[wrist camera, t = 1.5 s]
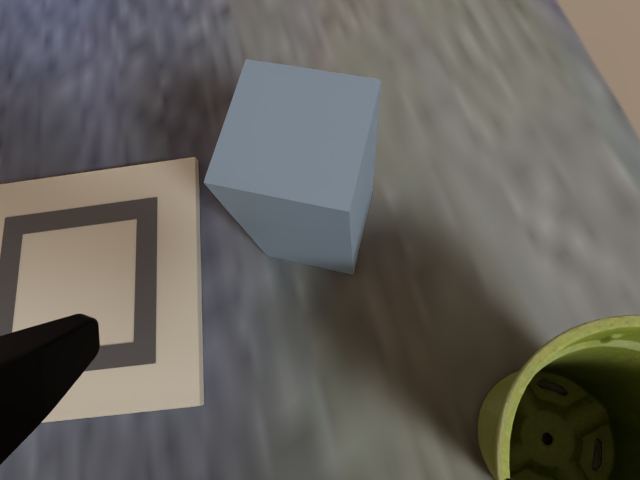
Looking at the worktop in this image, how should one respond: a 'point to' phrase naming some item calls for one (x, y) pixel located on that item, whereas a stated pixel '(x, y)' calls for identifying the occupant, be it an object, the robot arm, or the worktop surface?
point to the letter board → (112, 279)
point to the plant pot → (569, 408)
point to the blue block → (299, 161)
